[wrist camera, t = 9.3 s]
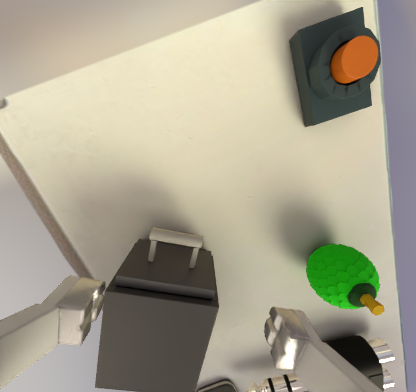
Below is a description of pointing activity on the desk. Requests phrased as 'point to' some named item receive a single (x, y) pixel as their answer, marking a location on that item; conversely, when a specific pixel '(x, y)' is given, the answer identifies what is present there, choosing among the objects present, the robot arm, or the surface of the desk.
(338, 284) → the ornament
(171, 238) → the drawer
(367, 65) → the button
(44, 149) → the desk surface
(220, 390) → the smartphone
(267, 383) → the audio adapter
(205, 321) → the small drawer cabinet
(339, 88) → the control block
